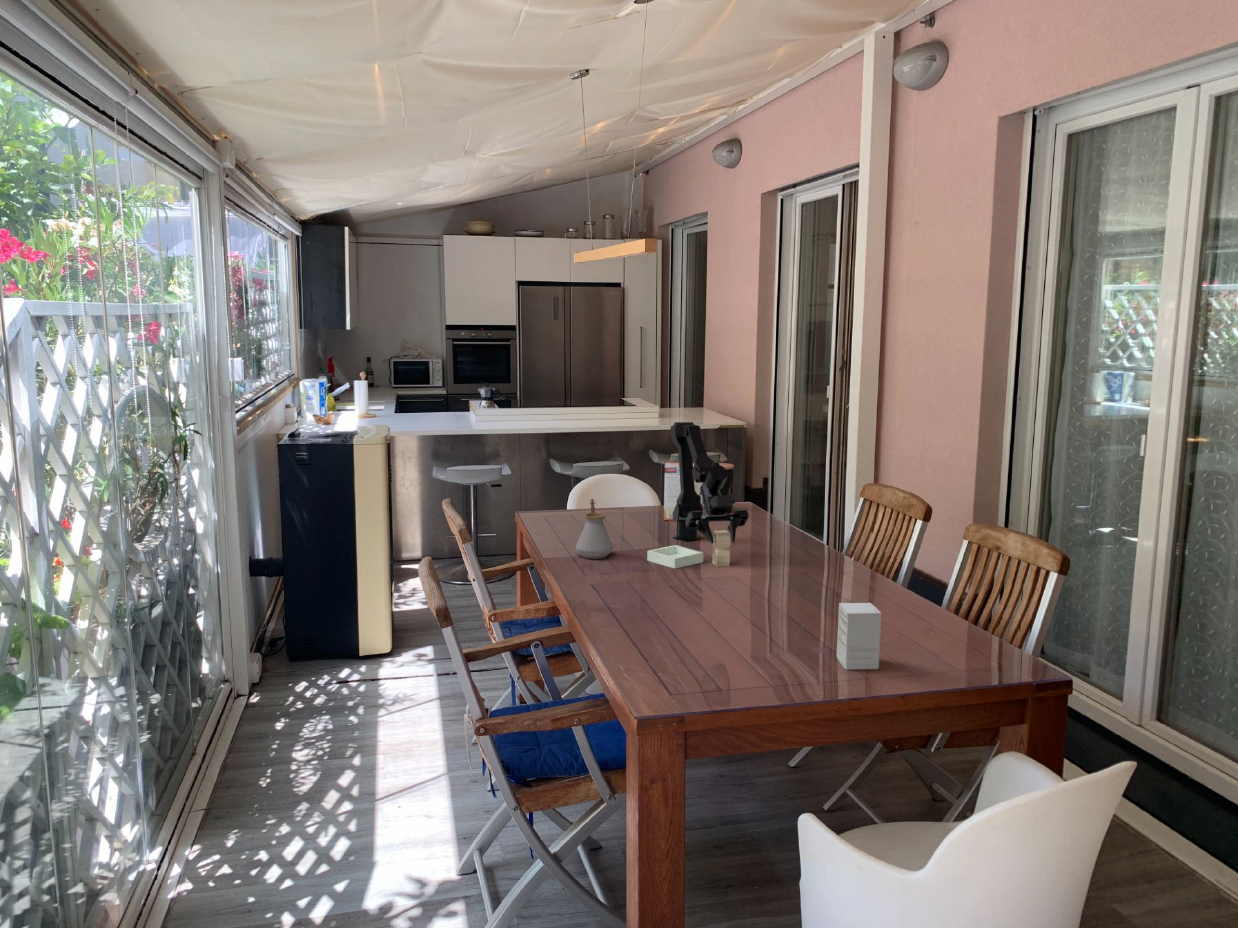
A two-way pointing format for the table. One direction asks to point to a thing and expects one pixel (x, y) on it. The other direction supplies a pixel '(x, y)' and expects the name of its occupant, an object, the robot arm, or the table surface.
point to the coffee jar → (728, 482)
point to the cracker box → (674, 489)
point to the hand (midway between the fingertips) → (723, 542)
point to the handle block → (721, 548)
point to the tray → (675, 556)
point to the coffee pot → (594, 536)
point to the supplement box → (858, 636)
